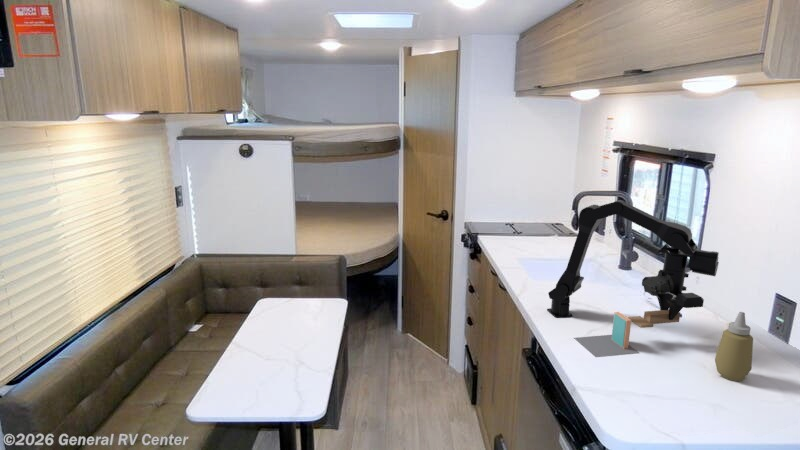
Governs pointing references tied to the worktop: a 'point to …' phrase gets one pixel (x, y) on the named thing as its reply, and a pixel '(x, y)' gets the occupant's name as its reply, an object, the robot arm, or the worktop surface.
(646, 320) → the turner
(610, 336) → the mat
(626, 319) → the tile
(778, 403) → the worktop surface
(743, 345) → the squeeze bottle
